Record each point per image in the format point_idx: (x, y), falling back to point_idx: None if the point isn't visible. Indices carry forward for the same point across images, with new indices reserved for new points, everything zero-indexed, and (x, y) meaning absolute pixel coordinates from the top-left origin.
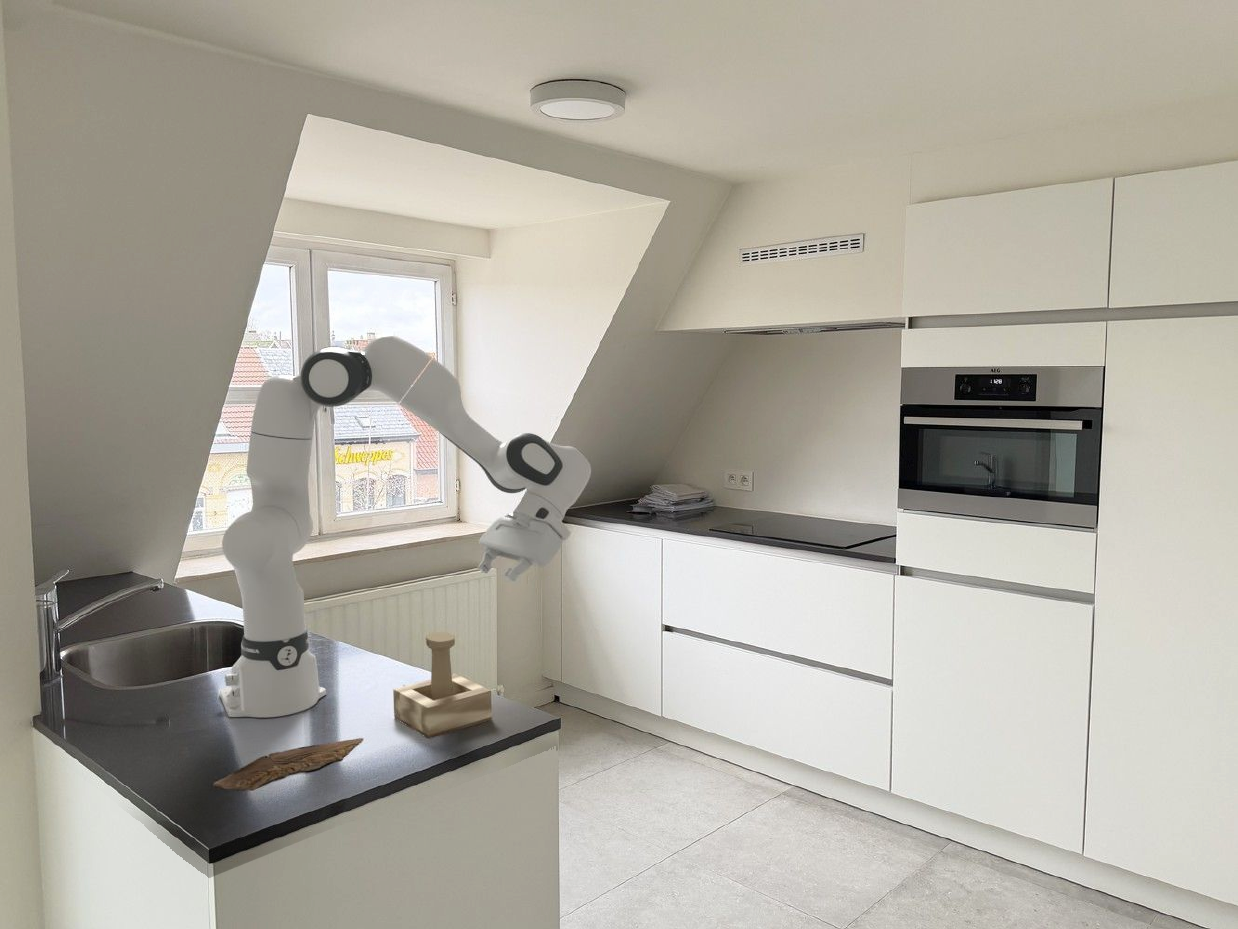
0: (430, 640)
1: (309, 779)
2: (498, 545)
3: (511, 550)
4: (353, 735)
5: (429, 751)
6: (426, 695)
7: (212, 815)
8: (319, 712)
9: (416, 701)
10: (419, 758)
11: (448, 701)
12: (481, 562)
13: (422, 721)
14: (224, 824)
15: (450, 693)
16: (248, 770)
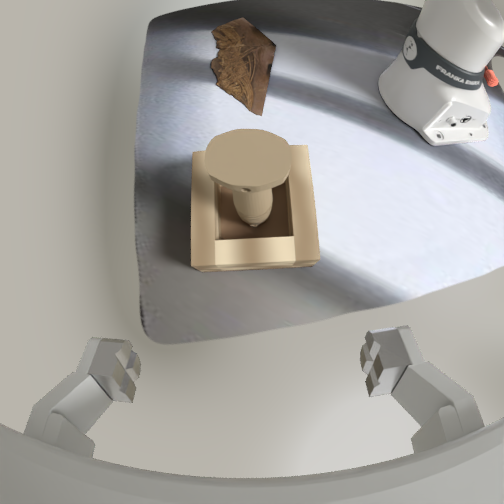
0: (236, 129)
1: (197, 60)
2: (359, 492)
3: (128, 477)
4: (277, 111)
5: (168, 159)
6: (288, 195)
7: (191, 16)
8: (375, 113)
9: None
10: (160, 144)
11: (194, 185)
12: (413, 350)
13: None
14: (172, 20)
15: (236, 210)
16: (251, 32)
